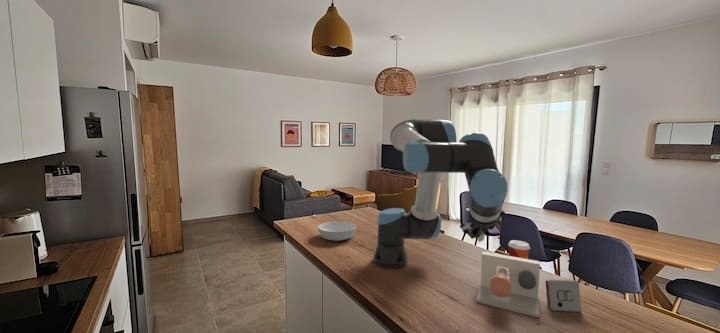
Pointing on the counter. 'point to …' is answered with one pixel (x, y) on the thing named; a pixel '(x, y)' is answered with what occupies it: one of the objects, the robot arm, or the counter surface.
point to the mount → (522, 283)
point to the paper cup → (518, 249)
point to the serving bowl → (336, 230)
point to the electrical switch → (563, 295)
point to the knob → (500, 284)
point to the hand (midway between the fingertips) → (478, 237)
